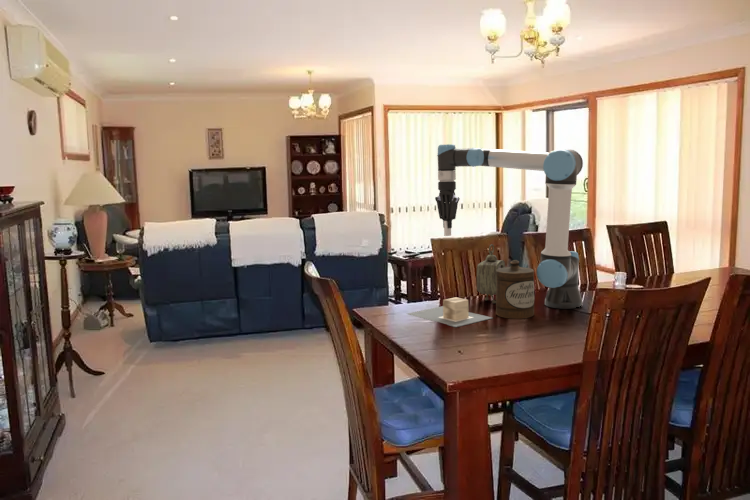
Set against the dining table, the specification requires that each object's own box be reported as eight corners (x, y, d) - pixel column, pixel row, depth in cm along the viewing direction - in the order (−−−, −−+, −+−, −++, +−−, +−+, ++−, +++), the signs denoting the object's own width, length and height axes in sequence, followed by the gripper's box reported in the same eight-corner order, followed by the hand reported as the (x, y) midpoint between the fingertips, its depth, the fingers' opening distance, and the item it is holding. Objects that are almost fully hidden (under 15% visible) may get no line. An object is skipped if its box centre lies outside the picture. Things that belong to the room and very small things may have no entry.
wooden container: (512, 320, 251) (512, 264, 248) (488, 313, 264) (488, 259, 261) (542, 315, 258) (542, 260, 255) (517, 308, 271) (517, 256, 268)
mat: (492, 318, 256) (492, 317, 256) (455, 327, 244) (455, 326, 244) (442, 306, 278) (442, 306, 278) (406, 314, 266) (406, 313, 266)
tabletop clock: (496, 305, 279) (496, 246, 275) (476, 303, 283) (475, 246, 279) (505, 298, 292) (505, 242, 288) (485, 296, 295) (485, 242, 292)
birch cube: (455, 297, 262) (456, 314, 263) (443, 299, 258) (443, 317, 259) (468, 299, 256) (468, 317, 257) (455, 302, 252) (455, 320, 253)
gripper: (430, 181, 283) (431, 235, 286) (451, 181, 272) (451, 237, 275) (442, 180, 287) (443, 233, 290) (464, 180, 277) (464, 236, 280)
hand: (447, 235), depth 283 cm, fingers closed
